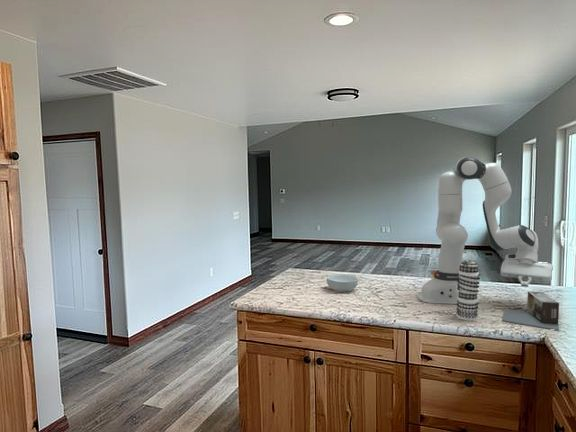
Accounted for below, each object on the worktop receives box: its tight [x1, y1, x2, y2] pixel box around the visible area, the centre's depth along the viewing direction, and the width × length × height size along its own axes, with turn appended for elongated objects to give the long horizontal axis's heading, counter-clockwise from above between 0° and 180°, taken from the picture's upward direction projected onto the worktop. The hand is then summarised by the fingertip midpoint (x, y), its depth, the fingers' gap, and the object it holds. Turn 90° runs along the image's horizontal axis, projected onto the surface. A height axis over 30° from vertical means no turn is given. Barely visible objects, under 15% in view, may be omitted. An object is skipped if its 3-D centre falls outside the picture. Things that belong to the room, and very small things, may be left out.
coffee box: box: [526, 291, 560, 324], centre depth 171 cm, size 9×6×16 cm
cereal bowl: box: [326, 273, 359, 293], centre depth 216 cm, size 17×17×7 cm
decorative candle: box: [455, 259, 481, 321], centre depth 172 cm, size 9×9×25 cm
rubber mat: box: [501, 308, 560, 331], centre depth 170 cm, size 18×20×1 cm
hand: (524, 285), depth 178 cm, fingers closed
